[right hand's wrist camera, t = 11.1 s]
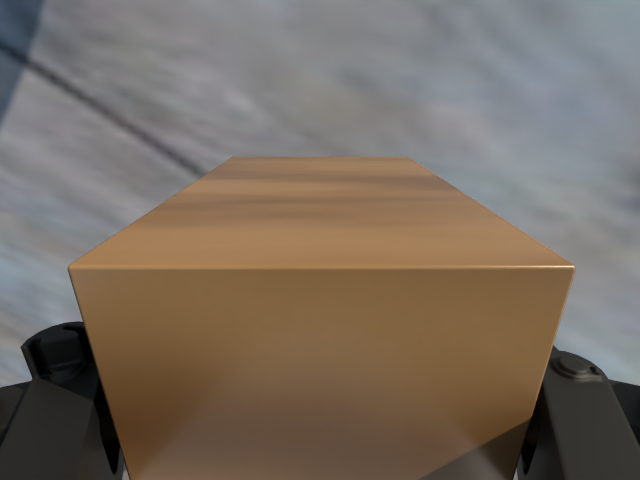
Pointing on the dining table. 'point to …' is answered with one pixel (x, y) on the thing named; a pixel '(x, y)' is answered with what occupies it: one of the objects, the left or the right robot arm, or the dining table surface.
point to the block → (321, 326)
